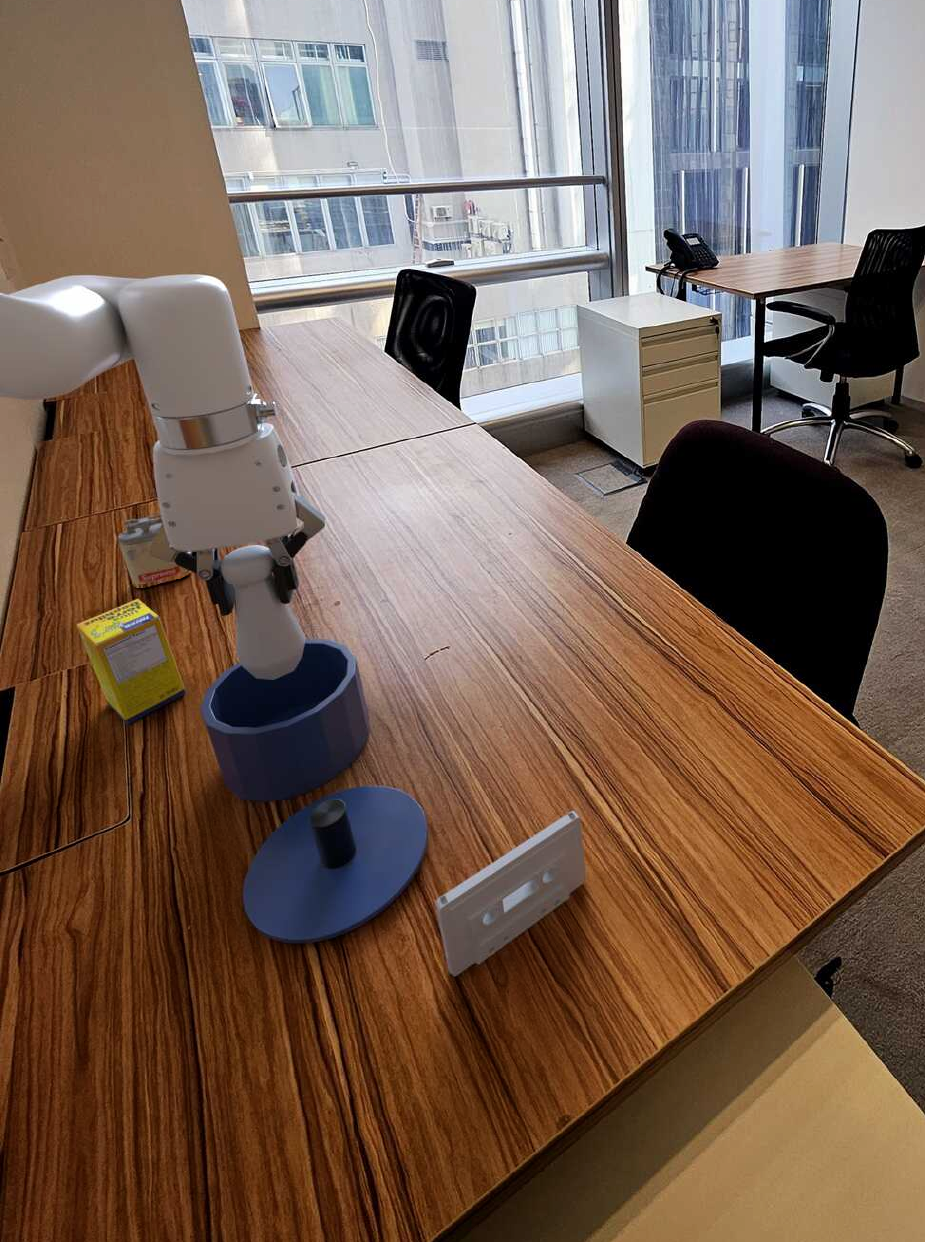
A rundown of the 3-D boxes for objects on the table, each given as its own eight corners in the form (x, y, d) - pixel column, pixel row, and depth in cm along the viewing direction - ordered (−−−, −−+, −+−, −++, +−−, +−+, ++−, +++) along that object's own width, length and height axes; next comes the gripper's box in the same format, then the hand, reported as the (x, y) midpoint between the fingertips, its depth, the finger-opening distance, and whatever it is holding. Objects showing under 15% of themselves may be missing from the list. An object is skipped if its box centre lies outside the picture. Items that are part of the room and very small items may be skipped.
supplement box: (165, 674, 87) (138, 596, 83) (187, 694, 84) (160, 615, 80) (105, 704, 83) (74, 623, 79) (127, 726, 80) (95, 644, 75)
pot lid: (229, 977, 56) (209, 923, 54) (260, 821, 68) (245, 772, 66) (432, 910, 61) (421, 857, 58) (426, 775, 73) (417, 728, 71)
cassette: (578, 869, 64) (572, 804, 61) (590, 885, 62) (584, 819, 60) (445, 964, 57) (430, 896, 54) (455, 984, 55) (440, 915, 52)
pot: (209, 820, 69) (185, 750, 65) (237, 719, 80) (217, 656, 77) (367, 777, 73) (351, 710, 70) (371, 687, 85) (358, 627, 82)
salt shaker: (230, 677, 71) (192, 563, 66) (280, 641, 76) (248, 532, 71) (274, 692, 69) (239, 575, 64) (323, 654, 74) (294, 542, 69)
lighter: (132, 592, 103) (110, 530, 99) (134, 579, 106) (113, 518, 102) (192, 577, 106) (174, 516, 103) (193, 565, 109) (174, 505, 106)
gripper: (321, 397, 69) (357, 564, 76) (107, 421, 64) (166, 598, 70) (313, 424, 63) (353, 604, 69) (74, 454, 57) (143, 646, 64)
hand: (258, 599), depth 70 cm, fingers closed on salt shaker, 4 cm apart
